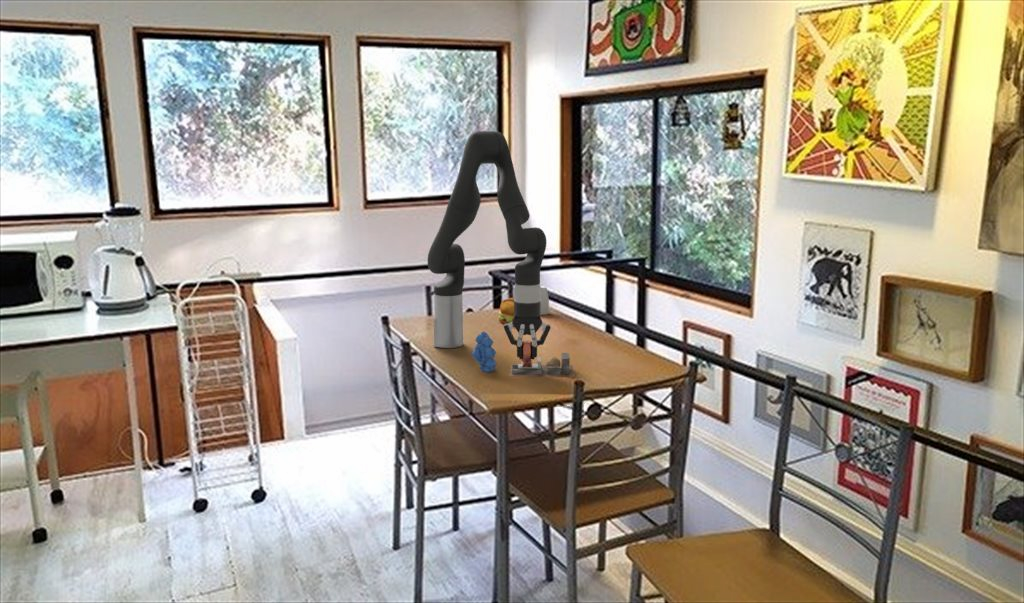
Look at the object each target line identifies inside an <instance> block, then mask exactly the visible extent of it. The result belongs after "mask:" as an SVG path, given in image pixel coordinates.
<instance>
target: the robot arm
mask: <svg viewBox="0 0 1024 603" xmlns="http://www.w3.org/2000/svg"><path fill="white" fill-rule="evenodd" d="M511 156H512V154H511V152H510V147H509V144H508V142H507V139H506V136H505V135H504V134H503V133H502V132H500V131H497V130H477V131H476V130H475V131H473V132H471V133H470V134H469V136H468V138H467V139H466V141H465V145H464V149H463V154H462V159H461V162H460V166H459V171H458V174H457V178H456V180H455V183H454V185H453V186H454V187H453V190H452V192H451V194H450V198H449V201H448V202H447V205H446V208H445V209H446V210H445V212H444V215H443V219H442V220H441V223H440V227H439V229H438V231H437V233H436V236H435V237H434V240H433V242H432V243H431V246H430V248H429V250H428V254H427V267H428V269H429V271H430V272H431V273H433V274H436V275H442V274H443V275H444V274H445V277H444V278H443V279H441V280H440V281H438V282H437V283H436V284H434V286H433V298H434V299H433V306H434V307H433V309H434V310H433V311H434V317H433V346H434V347H435V348H436V347H437V348H441V349H442V348H443V349H453V348H455V349H456V348H459V347H462V346H464V321H463V320H464V316H463V312H464V311H463V307H464V306H463V305H464V304H463V300H464V299H463V288H464V284H465V270H466V269H465V268H466V266H465V262H466V260H465V258H466V257H465V254H464V250H463V247H462V246H461V245H460V244H459V243H455V241H456V240H457V239H458V237H460V236H461V235H462V234H463V233H464V232H465V231H466V230H468V229H469V227H470V226H471V225H472V224H473V222H474V221H475V219H476V217H477V214H478V212H479V209H480V206H481V202H482V200H481V199H482V198H481V193H480V190H479V187H478V183H477V175H478V172H479V168H480V167H481V165H483V164H484V165H485V164H487V165H488V164H490V165H491V164H493V165H495V167H496V170H497V171H498V175H499V180H498V181H499V182H498V187H497V194H496V197H497V198H496V199H497V203H498V206H499V209H500V212H501V213H502V216H503V218H504V221H505V228H506V235H507V236H506V237H507V244H508V247H509V249H510V250H511V251H512V253H514V254H516V255H526V257H525V259H523V260H522V261H520V262H518V263H516V264H515V267H514V288H513V289H514V290H513V298H514V318H513V320H512V322H511V323H508V324H507V323H503V324H504V325H503V329H504V331H505V334H506V336H507V338H508V340H509V343H510V344H511V345H512V346H515V347H516V356H517V358H519V360H522V341H523V338H524V336H527V335H528V336H530V337H531V341H532V360H535V358H538V347H539V346H542V345H544V344H545V342H546V339H547V337H548V335H549V333H550V330H551V324H550V323H545V322H543V320H542V317H541V316H542V315H541V289H540V288H541V268H542V264H543V259H544V257H545V252H546V249H547V237H546V234H545V232H544V230H543V229H541V228H540V227H535V226H534V227H522V225H524V224H526V223H527V222H528V221H529V219H530V212H529V209H528V207H527V204H526V202H525V199H524V197H523V195H522V193H521V189H520V187H519V185H518V184H519V183H518V180H517V177H516V172H515V168H514V162H513V159H512V157H511ZM513 327H514V329H515V330H516V331H517V333H518V335H517V339H515V337H514V335H513V332H512V331H513ZM540 328H541V329H542V334H541V335H540V338H539V339H538V338H537V332H538V331H539V329H540Z"/></svg>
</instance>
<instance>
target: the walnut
mask: <svg viewBox="0 0 1024 603" xmlns="http://www.w3.org/2000/svg"><path fill="white" fill-rule="evenodd" d="M545 365H547V366H560V365H561V361H560V359H559V358H558V357H557V356H551V357H549V358H548V359H547V360H546V364H545Z"/></svg>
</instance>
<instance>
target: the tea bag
mask: <svg viewBox="0 0 1024 603" xmlns="http://www.w3.org/2000/svg"><path fill="white" fill-rule="evenodd" d="M540 289H541V316H542V315H549V313H550V303H549V302H550V300H549V294H548V287H542V288H541V287H540Z"/></svg>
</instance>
